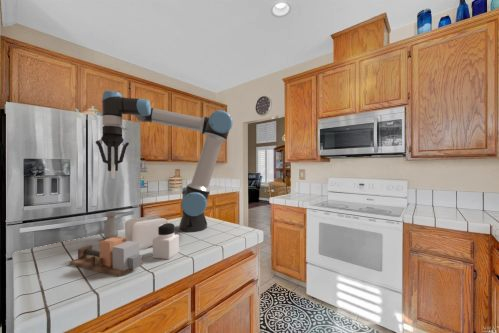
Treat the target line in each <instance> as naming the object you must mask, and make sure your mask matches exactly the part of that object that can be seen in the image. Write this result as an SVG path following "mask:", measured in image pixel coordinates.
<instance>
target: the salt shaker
mask: <svg viewBox="0 0 499 333" xmlns="http://www.w3.org/2000/svg"><path fill="white" fill-rule="evenodd" d="M116 217H117V212H116V211H115V210H111V211H107V212H106V213H105V218H106V221H105V222H106V223H105V226H104V231H103V236H104V238H105V240H106V239H109V238H112V237H115V236H118V234H119V230H118V227H117V221H116Z"/></svg>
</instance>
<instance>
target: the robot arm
mask: <svg viewBox="0 0 499 333" xmlns="http://www.w3.org/2000/svg"><path fill="white" fill-rule="evenodd" d="M101 98H102V100H101V103H102V105H101V106H102V108H101V109H102V136H101V137H100V139H99V140H96V141H95V144H96V146H97V147H98V150H99V153H100V157H101V161H102V163H105V164H107V171H108V172H110V179H115V180H116V172H117V171H118V170H119V164H121V163H124V162H123V161H124V158H125V154H126V150H127V147H128V146H129V145H130V142H127V141H125V140H124V138H123V115H129V116H133V117H135V119H137V120H138V121H139V122H142V123H147V122H148V123H153V124H158V125H164V126H170V127H175V128H181V129H185V130H192V131H195V132H196V131H197V132H200V134H202V135H204V136H205V140H204V144H203V146H202V149H201V152H200V154H199V158H198V162H197V164H196V167H195V170H194V174H193V176H192V180H191V182H190V183H188V184H187V186H186V187H185V186H184V187H183V188H182V192H181V194H182V196H181V197H182V199H181V204H180V205H181V209H182V216H181V219H180V222H179V225H178V226H179V228H178V229H179V231H182V232H184V233H186V232H191V233H192V232H193V233H194V232H199V231H200V232H201V231H202V230H206V229H207V228H208V222H207V219H206V216H205V211H206V209H207V206H208V200H209V195H210V192H211V190H210V189H209V186H210V182H211V180H212V176H213V173H214V170H215V167H216V163H217V160H218V158H219V154H220V151H221V148H222V145H223V143H224V142H227V139H228V136H229V133H230V131H231V129H232V127H233V118H232V116H231V115H230V113H228V112H227V111H225V110H223V109H220V110H215V111H213V112H212V113H211V114H210V116H202V117H199V116H193V115H189V114H184V113H183V114H182V113H179V112H174V111H169V110H164V109H159V108H154V107H152V105H151V101H150V100H149V99H146V98H145V99H144V98H137V97H136V98H133V97H132V98H131V97H123V94H122V93H120V92H118V91H113V90H104V91H103V93H102V97H101ZM103 143H104V145H105V146H107V152H106V153H107V154H106V155H107V156H106V155H105V151H104V148H103ZM121 145H122V147H121V148H122V149H121V153H120V156H119V147H120V146H121ZM112 148H113V159H114V161H113V162H114V163H112ZM106 157H107V158H106Z"/></svg>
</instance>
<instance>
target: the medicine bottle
mask: <svg viewBox="0 0 499 333" xmlns="http://www.w3.org/2000/svg"><path fill="white" fill-rule="evenodd" d="M178 253H180V234H177V233H175V224H174V223H171V222H167V223H164V224H161V225H159V226H158V237H156V238H154V239H153V246H152V258H154V259H161V260H170V259H171V258H173V257H174V256H176V255H178Z"/></svg>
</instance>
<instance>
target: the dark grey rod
mask: <svg viewBox="0 0 499 333" xmlns="http://www.w3.org/2000/svg"><path fill="white" fill-rule="evenodd" d="M84 254H87V255H92V256H97V257H100V252H99V250H95V249H92V250H90V249H86V250H85V251H84Z"/></svg>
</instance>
